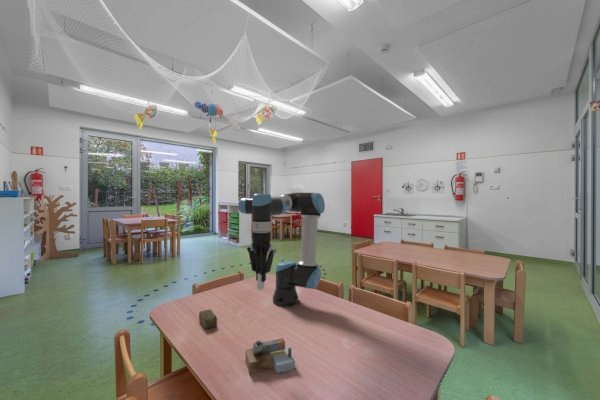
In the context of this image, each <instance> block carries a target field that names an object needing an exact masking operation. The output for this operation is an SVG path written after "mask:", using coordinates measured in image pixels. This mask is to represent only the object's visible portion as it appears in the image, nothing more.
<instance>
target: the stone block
mask: <svg viewBox="0 0 600 400" xmlns="http://www.w3.org/2000/svg"><path fill="white" fill-rule="evenodd" d="M198 315H199V316H198V320H199V322H200V323H201V325H202V326H203V328H204V329H207V330H208V329H211V328H215V327H218V326H217V325H218V318H217V316H216V314H215V313H214V311H213V310H212V309H205V310H201V311H199V314H198Z"/></svg>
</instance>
